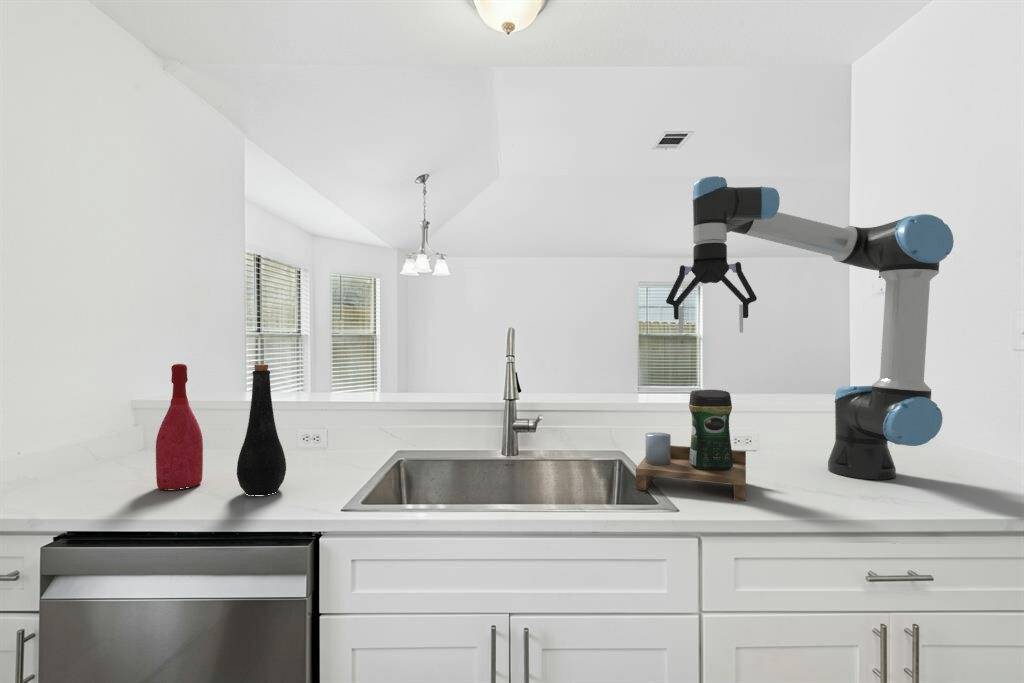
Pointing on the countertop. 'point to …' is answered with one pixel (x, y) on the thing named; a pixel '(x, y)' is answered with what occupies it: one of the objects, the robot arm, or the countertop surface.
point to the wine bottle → (179, 440)
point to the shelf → (695, 471)
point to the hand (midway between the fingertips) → (710, 333)
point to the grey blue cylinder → (658, 448)
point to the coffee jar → (710, 430)
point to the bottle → (261, 442)
